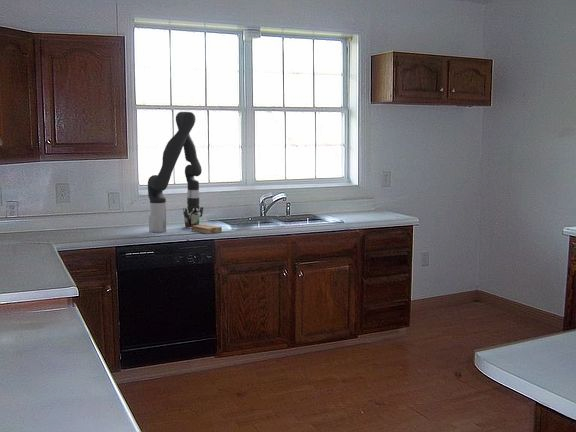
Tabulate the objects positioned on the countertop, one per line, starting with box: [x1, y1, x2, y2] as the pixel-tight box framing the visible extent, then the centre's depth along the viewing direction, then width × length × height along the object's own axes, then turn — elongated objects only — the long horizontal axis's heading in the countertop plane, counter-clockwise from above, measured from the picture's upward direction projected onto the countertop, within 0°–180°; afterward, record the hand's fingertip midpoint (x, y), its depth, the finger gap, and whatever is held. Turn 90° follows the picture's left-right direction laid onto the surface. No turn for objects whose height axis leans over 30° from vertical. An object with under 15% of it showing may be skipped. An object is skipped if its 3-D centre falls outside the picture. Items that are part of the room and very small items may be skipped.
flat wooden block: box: [191, 223, 223, 235], centre depth 374 cm, size 10×16×3 cm, turn 45°
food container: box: [182, 210, 201, 228], centre depth 390 cm, size 12×6×10 cm, turn 58°
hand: (193, 224), depth 390 cm, fingers closed on food container, 5 cm apart
